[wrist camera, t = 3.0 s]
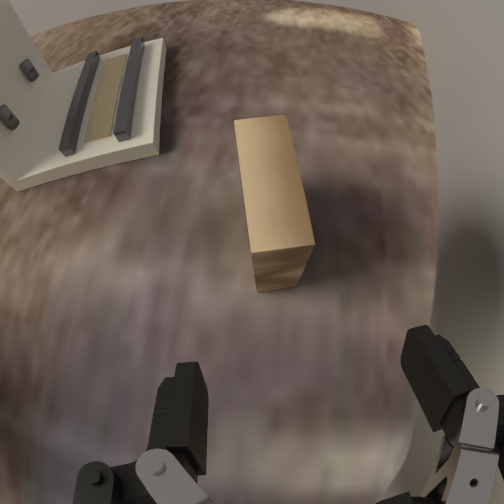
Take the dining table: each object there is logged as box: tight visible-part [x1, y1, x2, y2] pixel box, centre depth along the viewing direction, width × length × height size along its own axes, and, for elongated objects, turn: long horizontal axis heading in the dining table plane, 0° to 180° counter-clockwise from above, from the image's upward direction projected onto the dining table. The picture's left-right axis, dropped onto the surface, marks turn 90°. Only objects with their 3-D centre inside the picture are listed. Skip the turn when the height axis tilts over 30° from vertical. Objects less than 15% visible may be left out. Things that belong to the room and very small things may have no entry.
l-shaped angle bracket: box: [0, 0, 166, 192], centre depth 23 cm, size 18×18×18 cm
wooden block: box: [234, 115, 315, 292], centre depth 21 cm, size 3×9×10 cm, turn 7°
